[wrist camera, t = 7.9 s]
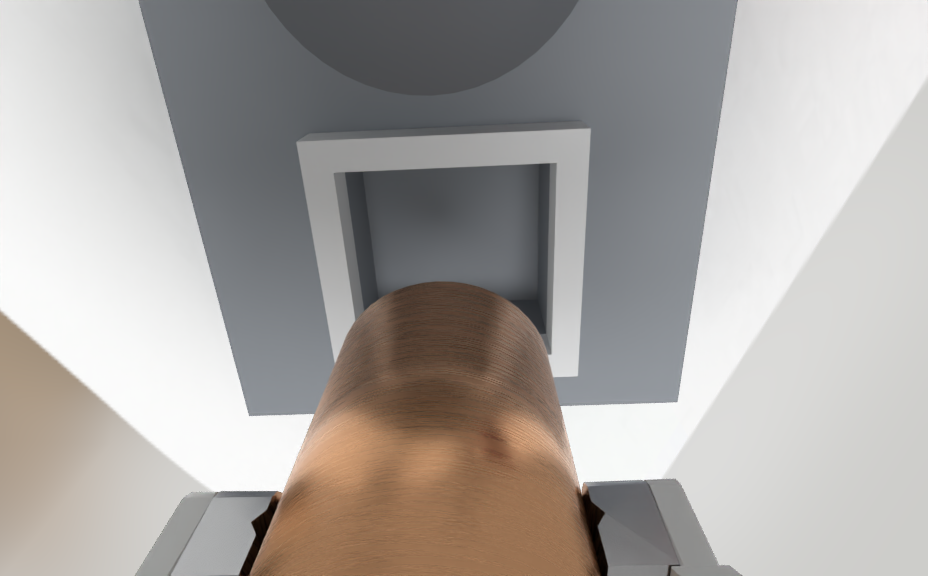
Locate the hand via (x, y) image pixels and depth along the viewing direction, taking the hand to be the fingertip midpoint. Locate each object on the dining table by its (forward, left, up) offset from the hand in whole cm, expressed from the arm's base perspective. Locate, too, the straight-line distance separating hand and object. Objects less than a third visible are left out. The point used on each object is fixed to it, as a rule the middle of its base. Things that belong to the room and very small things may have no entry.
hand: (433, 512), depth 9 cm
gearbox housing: (-4, 0, -18) cm, 18 cm away
